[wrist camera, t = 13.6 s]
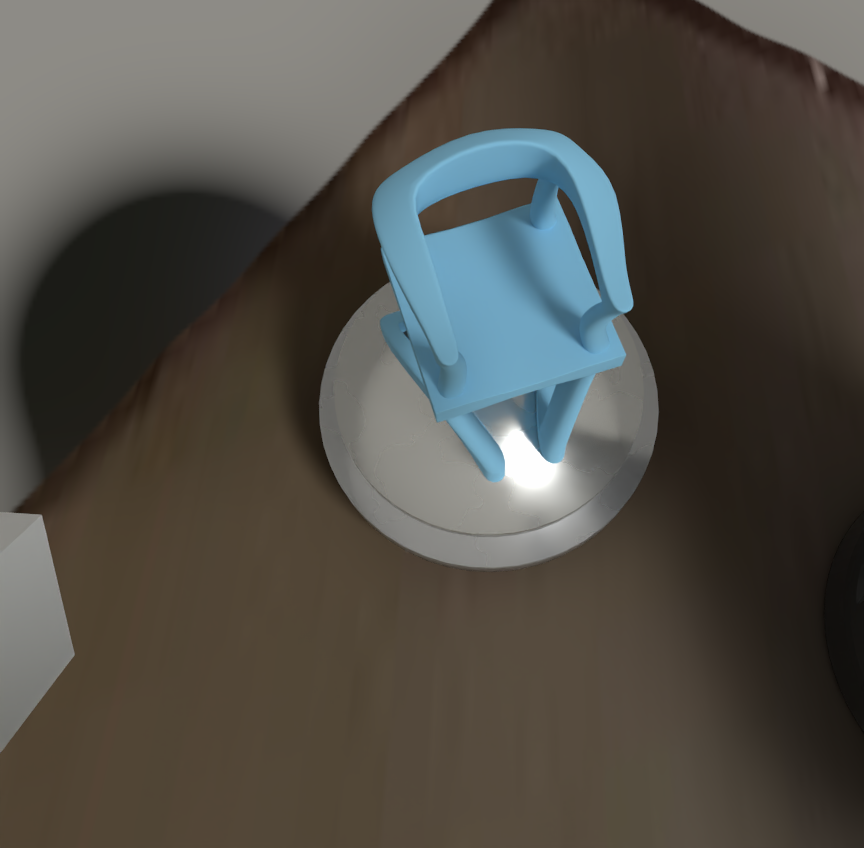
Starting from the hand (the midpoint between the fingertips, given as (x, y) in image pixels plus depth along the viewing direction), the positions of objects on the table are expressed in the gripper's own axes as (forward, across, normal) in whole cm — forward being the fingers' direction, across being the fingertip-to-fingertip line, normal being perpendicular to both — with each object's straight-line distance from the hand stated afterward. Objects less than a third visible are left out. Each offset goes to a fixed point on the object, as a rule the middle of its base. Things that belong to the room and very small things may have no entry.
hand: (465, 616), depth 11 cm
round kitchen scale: (+24, 0, -8) cm, 25 cm away
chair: (+21, 0, -4) cm, 21 cm away
